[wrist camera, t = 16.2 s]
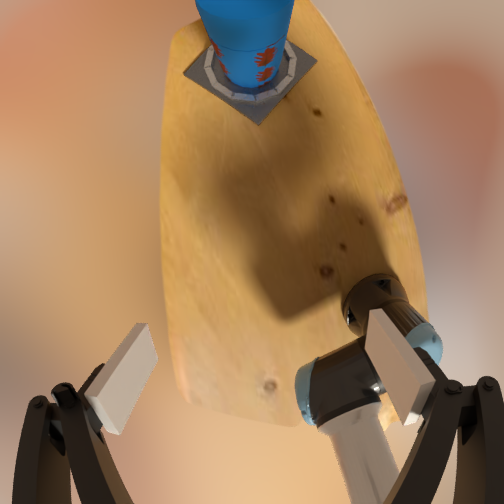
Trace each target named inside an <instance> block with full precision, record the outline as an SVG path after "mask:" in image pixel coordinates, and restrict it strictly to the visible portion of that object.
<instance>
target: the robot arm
mask: <svg viewBox="0 0 504 504" xmlns="http://www.w3.org/2000/svg"><path fill="white" fill-rule="evenodd" d="M343 313H344V319H345V321H346V323H347V325H348V327H349V329H350V330H351V331H352V332H353V333H354V334H355V335H357V336H358V337H360V338H358V339H356V340H354V341H352V342H350V343H348V344H346V345H344V346H342V347H340V348H338V349H336V350H334V351H332V352H330V353H328V354H325V355H323V356H321V357H317V358H315V359H314V360H313V361H312V362H310V363H308V364H306V365H304V366H302V367H301V368H300V369H299V370H298V372H297V374H296V377H295V393H296V399H297V403H298V407H299V409H300V410H301V413H302V417H303V419H304V420H305V422H306V423H307V424H309V425H316V426H317V429H318V432H320V433H323V434H325V435H327V436H329V437H330V439H331V442H332V445H333V448H334V451H335V454H336V457H337V461H338V464H339V467H340V470H341V473H342V476H343V479H344V482H345V486H346V489H347V492H348V495H349V498H350V501H351V504H431V502H432V500H433V497H434V495H435V493H436V491H437V488H438V486H439V483H440V481H441V478H442V475H443V472H444V470H445V467H446V464H447V461H448V458H449V455H450V451H451V449H452V445H453V441H454V438H455V434H456V430H458V431H457V432H458V433H457V435H458V436H457V438H458V447H457V448H458V451H457V471H456V472H457V473H456V483H455V492H454V500H453V504H504V402H503V398H502V393H501V390H500V386H499V383H498V381H497V380H496V379H495V378H492V377H490V376H484V377H481V378H480V379H479V380H478V382H477V384H476V385H474V386H463V385H462V384H461V383H460V382H458V381H455V380H448V378H447V377H446V376H445V374H444V373H443V372H442V370H441V369H440V368H439V366H438V365H439V363H440V361H441V357H442V353H443V344H442V340H441V338H440V337H439V335H438V334H437V333H436V332H435V329H434V328H433V326H432V325H431V324H430V323H428V322H427V321H426V320H425V319H424V318H423V317H422V316H421V315H420V314H419V313H418V312H417V311H416V310H415V309H414V308H413V307H412V306H411V305H410V304H409V301H408V297H407V294H406V291H405V289H404V287H403V286H402V285H401V283H400V282H398V281H397V280H396V279H395V278H394V277H392V276H390V275H386V274H375V275H372V276H369V277H367V278H365V279H363V280H361V281H360V282H359V283H358V284H356V285H355V286H354V287H353V289H352V290H351V291H350V293H349V294H348V296H347V298H346V301H345V304H344V310H343ZM157 361H158V357H157V354H156V351H155V347H154V344H153V341H152V338H151V334H150V331H149V327H148V324H147V323H136V325H135V326H134V327H133V328H132V330H131V331H130V332H129V334H128V335H127V336H126V338H125V339H124V340H123V342H122V343H121V344H120V345H119V347H118V348H117V350H116V351H115V352H114V353H113V355H112V356H111V357H110V359H109V360H108V361H107V363H106V364H103V363H102V364H101V365H99V366H98V367H97V368H95V369H94V371H93V372H92V373H91V375H90V376H89V377H88V380H86V381H85V383H84V384H83V385H82V387H81V388H80V390H79V391H78V392H76V391H75V389H74V387H73V385H72V384H70V383H66V382H65V383H60V384H58V385H56V386H55V387H54V388H53V389H52V391H51V395H52V397H53V398H54V400H55V402H56V403H50V402H49V401H48V399H47V398H46V397H45V396H42V395H40V396H36V397H34V398H33V399H32V400H31V401H30V403H29V405H28V408H27V412H26V416H25V420H24V424H23V428H22V432H21V437H20V442H19V447H18V453H17V459H16V465H15V473H14V482H13V494H12V504H72V503H71V485H70V468H71V472H72V475H73V479H74V482H75V485H76V489H77V492H78V495H79V498H80V501H81V503H82V504H134V503H133V501H132V500H131V497H130V496H129V494H128V492H127V490H126V488H125V486H124V484H123V482H122V479H121V477H120V475H119V473H118V471H117V469H116V466H115V464H114V462H113V459H112V457H111V454H110V452H109V449H108V447H107V444H106V441H105V439H104V436H103V433H102V432H101V430H100V429H101V427H102V425H103V426H104V427H105V429H106V430H107V432H110V433H113V434H117V435H121V433H122V430H123V428H124V426H125V424H126V422H127V420H128V418H129V416H130V414H131V412H132V410H133V408H134V406H135V404H136V402H137V400H138V398H139V396H140V394H141V392H142V390H143V388H144V386H145V384H146V382H147V380H148V378H149V376H150V374H151V372H152V370H153V369H154V367H155V365H156V363H157ZM386 392H387V393H388V395H389V397H390V399H391V401H392V403H393V405H394V408H395V410H396V412H397V414H398V416H399V418H400V420H401V422H402V425H403V426H405V425H408V424H412V423H414V422H417V421H418V419H419V417H420V415H421V414H422V416H423V418H424V420H423V422H422V425H421V426H420V428H419V430H418V435H417V437H416V440H415V442H414V444H413V447H412V449H411V452H410V453H409V456H408V458H407V460H406V462H405V464H404V466H403V468H402V470H401V472H400V473H399V471H398V468H397V465H396V462H395V460H394V457H393V454H392V452H391V449H390V447H389V444H388V441H387V439H386V436H385V434H384V431H383V429H382V426H381V424H380V421H379V419H378V414H379V412H380V410H381V407H382V402H381V400H380V398H379V396H380V395H382V394H384V393H386Z"/></svg>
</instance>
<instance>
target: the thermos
mask: <svg viewBox="0 0 504 504" xmlns="http://www.w3.org/2000/svg"><path fill="white" fill-rule="evenodd" d="M195 2H196V7H197V9H198V11H199V14H200V16H201V19H202V21H203V23H204V26H205V28H206V31H207V33H208V36H209V38H210V41H211V43H212V46H213V48H214V51H215V53H216V56H217V58H218V61H219V63H220V66H221V68H222V70H223V72H224V74H225V75H226V77H227V78H228V79H229V80H230V81H231V82H232V83H234V84H237V85H239V86H241V87H249V88H253V87H259V86H262V85H264V84H266V83H268V82H270V81H271V80H272V79H273V78H274V77H275V76H276V73H277V71H278V68H279V65H280V63H281V60H282V55H283V51H284V46H285V41H286V37H287V32H288V28H289V23H290V19H291V14H292V9H293V5H294V0H195Z"/></svg>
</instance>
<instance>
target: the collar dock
mask: <svg viewBox="0 0 504 504" xmlns="http://www.w3.org/2000/svg"><path fill="white" fill-rule="evenodd" d="M316 63H317V60H316V59H314V58H313V57H312V56H310V55H309V54H308V53H306V52H305V51H303V50H302V49H300V48H299V47H297V46H296V45H294V44H293V43H291V42H290V41H288V40H287V39H286V41H285V46H284V51H283V55H282V60H281V63H280V65H279V68H278V71H277V73H276V76H275V77H274V78H273V79H272V80H271V81H270V82H268V83H266V84H264V85H262V86H259V87H253V88H249V87H241V86H239V85H237V84H234V83H232V82H231V81H230V80H229V79H228V78H227V77H226V75H225V74H224V72H223V70H222V68H221V66H220V63H219V61H218V58H217V56H216V53H215V51H214V48H213V46H212V45H211V46H210V47H209V48H208V49H207V50H206V51H205V52H204V53H203V54H202V55H201V56H200V57H199V58H198V59H197V60H196V61H195V62H194V63H193V65H192V66H191V67H190V68H189V69H188V70H187V71H186V72H185V74H184V76H185V77H187V78H189V79H190V80H192V81H194V82H195V83H197V84H198V85H200V86H201V87H203V88H205V89H206V90H208V91H209V92H211V93H212V94H214V95H215V96H217V97H218V98H220V99H221V100H223V101H224V102H226V103H227V104H229V105H230V106H232V107H233V108H235V109H236V110H237V111H239V112H240V113H242V114H243V115H244V116H246V117H247V118H249V119H250V120H251V121H253V122H254V123H255V124H257V125H258V126H259V125H260V124H261V122H262V121H263V120H264V119H265V118H266V117H267V115H268V114H269V113H270V112H271V111H272V110H273V109H274V108H275V106H276V105H277V104H278V103H279V102H280V101H281V100H282V99H283V98H284V96H285V95H286V94H287V93H288V92H289V91H290V90H291V89H292V88H293V87H294V86H295V85H296V83H297V82H298V81H299V80H300V79H301V78H302V77H303V76H304V75H305V74H306V73H307V72H308V71H309V70H310V69H311V68H312V67H313V66H314V65H315V64H316Z"/></svg>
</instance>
